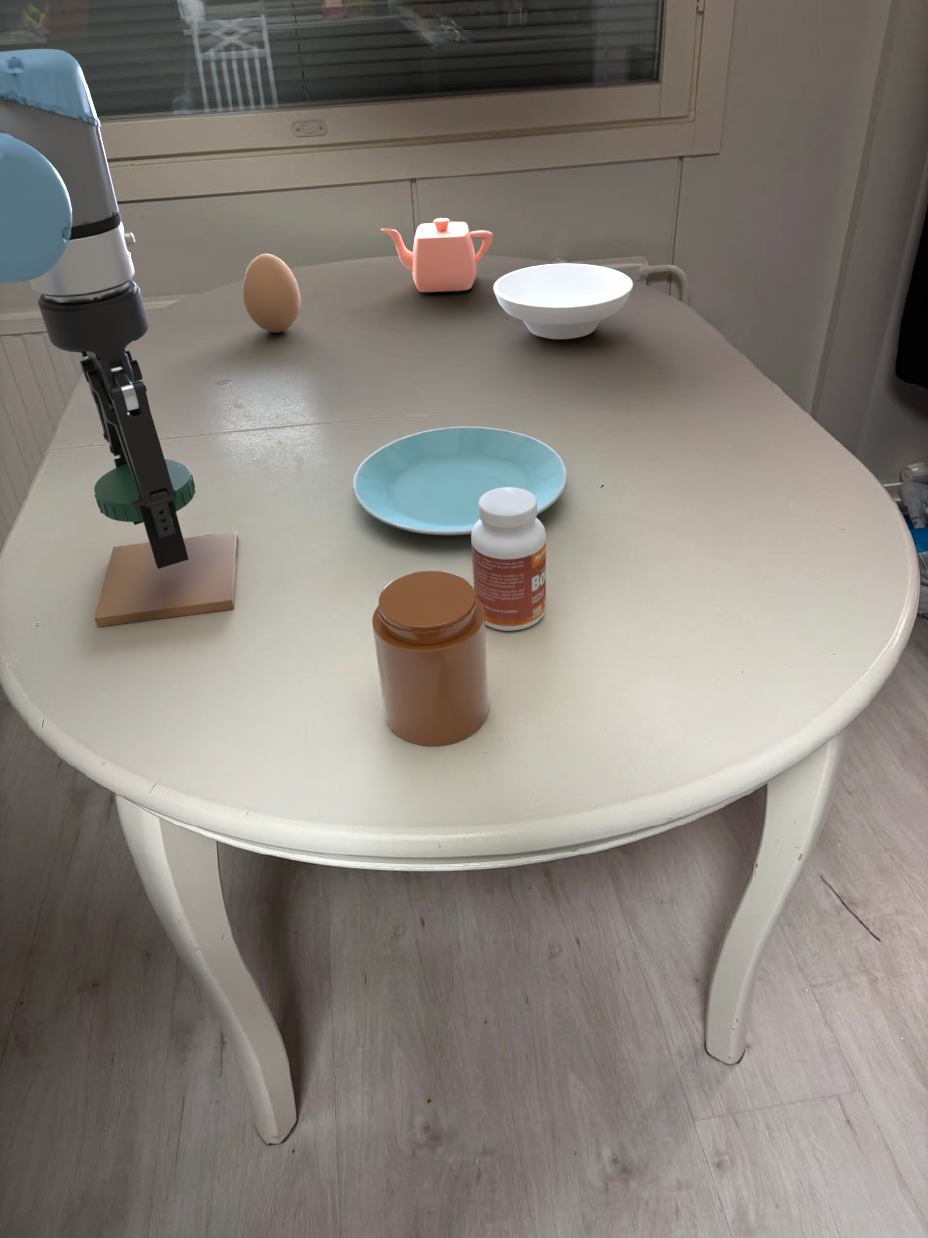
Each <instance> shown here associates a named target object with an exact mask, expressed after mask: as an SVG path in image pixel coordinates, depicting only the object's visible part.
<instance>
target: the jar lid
mask: <svg viewBox="0 0 928 1238" xmlns="http://www.w3.org/2000/svg"><path fill="white" fill-rule="evenodd" d="M165 462H166V465H167V469H168V472H169V475H170V479H171V482H172V486H173V489H175V491H176V500H173V503H174V506H175V510H176V512H178V511H180V510H182V509H183V508H185V507H186V506H187V505H189V503H191V502H192V500H193V498H194V497H195V494H196V489H195V488H196V485H195V480H194V476H193V474H192V472H191V469H190V468H189V467H188V466H187V465H186V464H185V463H184V462H181V461H178V460H174V459H169V458H167V459H166V458H165ZM93 491H94V498H95V501H96V504H97V507H98V508H99V511H100V514H102V515H104V516H105V517H106V518H108V519H111V520H113V521H117V522H123V523H125V522H126V523H133V522H142V521H143V519H142V515H141V512H140V508H139V507H137V508H133V506H132V504H131V501H133V500H136V499H138V492H137V489H136V486H135V484H134V481H133V478H132V475H131V472H130V469H129V466H128V464H125V465H122V466H120V467H117V468H116V467H115V468H113V469H111V470H108V472H105V474H103V475H102V476H100V478H98V480H96V482H95V484H94V487H93Z"/></svg>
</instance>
